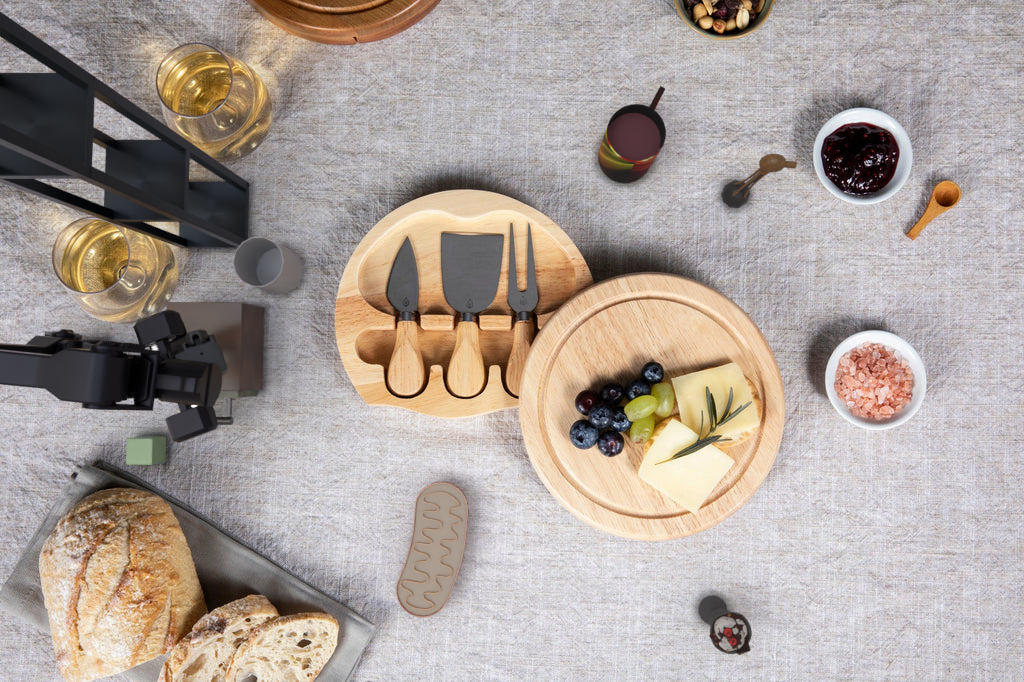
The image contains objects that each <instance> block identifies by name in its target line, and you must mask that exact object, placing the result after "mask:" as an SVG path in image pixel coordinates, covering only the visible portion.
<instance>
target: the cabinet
mask: <svg viewBox="0 0 1024 682" xmlns="http://www.w3.org/2000/svg"><path fill="white" fill-rule="evenodd" d="M165 307H166V309H165V310H173V311H176V312H178V313H180V316H181V319H182V321H183V322H184V325H185V328H186V331H187V334H188V333H189V332H191V331H195V330H206V331H207V334H208V335H212V334H214V336H215V338H216V341H217V344H218V345H219V347H220V348H221V351H222V354H223V356H224V359H225V362H226V365H227V368H228V370H227V373H226V374H224V375H223V376H222V387H221V391H246V390H257V391H259V390H263V384H264V383H263V382H264V380H263V379H264V344H265V343H264V341H265V340H264V339H265V307H263V306H258V305H254V304H250V303H246V302H242V301H241V302H240V301H239V302H238V301H237V302H236V301H235V302H233V301H232V302H231V301H227V302H226V301H221V302H219V301H166V305H165Z"/></svg>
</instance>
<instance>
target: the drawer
mask: <svg viewBox="0 0 1024 682" xmlns="http://www.w3.org/2000/svg"><path fill="white" fill-rule="evenodd" d="M257 396H258V390H246V391H221V392H220V395H219V397H218V399H227V402H226V416H216V419H217V422H218V424H219V425H218V426H233V424H234V423H235V422H234V421H235V420H234V419H235V418H234V417H233V399H243V398H252V397H257ZM192 408H193V407H192Z"/></svg>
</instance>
